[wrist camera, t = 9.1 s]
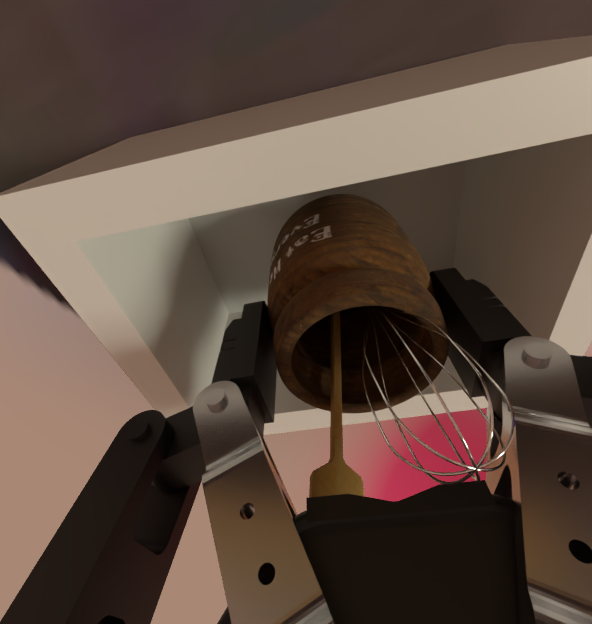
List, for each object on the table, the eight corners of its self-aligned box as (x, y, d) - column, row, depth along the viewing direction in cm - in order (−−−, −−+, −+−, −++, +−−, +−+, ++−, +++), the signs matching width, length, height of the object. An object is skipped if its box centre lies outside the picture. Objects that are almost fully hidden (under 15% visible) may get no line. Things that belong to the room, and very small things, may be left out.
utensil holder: (425, 212, 14) (741, 548, 4) (362, 320, 17) (448, 630, 8) (296, 166, 12) (306, 485, 3) (257, 293, 16) (205, 618, 6)
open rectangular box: (130, 137, 15) (-15, 198, 8) (504, 45, 13) (757, 17, 6) (217, 324, 22) (183, 444, 15) (467, 283, 20) (561, 398, 13)
